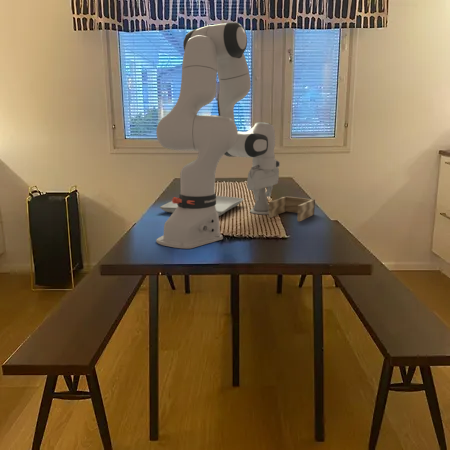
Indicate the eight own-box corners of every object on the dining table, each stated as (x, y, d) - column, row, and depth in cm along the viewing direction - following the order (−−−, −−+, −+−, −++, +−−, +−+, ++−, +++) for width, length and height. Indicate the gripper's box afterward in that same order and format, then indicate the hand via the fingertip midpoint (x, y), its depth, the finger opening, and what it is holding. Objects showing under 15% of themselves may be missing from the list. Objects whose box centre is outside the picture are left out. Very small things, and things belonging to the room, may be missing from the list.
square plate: (188, 201, 211) (187, 193, 210) (245, 206, 201) (245, 197, 200) (159, 214, 186) (158, 205, 185) (222, 220, 177) (222, 210, 176)
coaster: (267, 215, 182) (267, 214, 182) (245, 212, 187) (245, 211, 187) (279, 210, 190) (279, 209, 190) (257, 208, 195) (257, 206, 195)
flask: (269, 212, 185) (269, 187, 182) (251, 211, 187) (251, 187, 184) (271, 208, 192) (272, 184, 189) (254, 207, 193) (255, 184, 191)
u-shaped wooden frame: (299, 221, 173) (300, 205, 171) (268, 217, 180) (269, 202, 178) (314, 214, 184) (314, 199, 183) (284, 210, 191) (285, 196, 190)
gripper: (257, 167, 174) (257, 203, 177) (281, 161, 190) (280, 195, 194) (243, 166, 177) (243, 201, 181) (268, 161, 194) (267, 193, 197)
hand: (262, 198), depth 187 cm, fingers open, 8 cm apart
